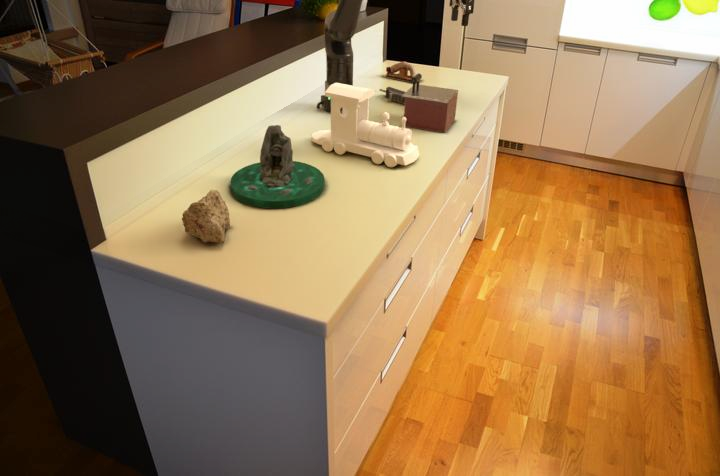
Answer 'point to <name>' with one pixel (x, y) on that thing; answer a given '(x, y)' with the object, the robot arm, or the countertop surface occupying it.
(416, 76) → the lid
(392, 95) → the toy gun
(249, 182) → the diorama
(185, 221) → the rock
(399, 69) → the sculpture
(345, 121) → the toy train
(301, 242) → the countertop surface
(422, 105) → the open wooden cubby
